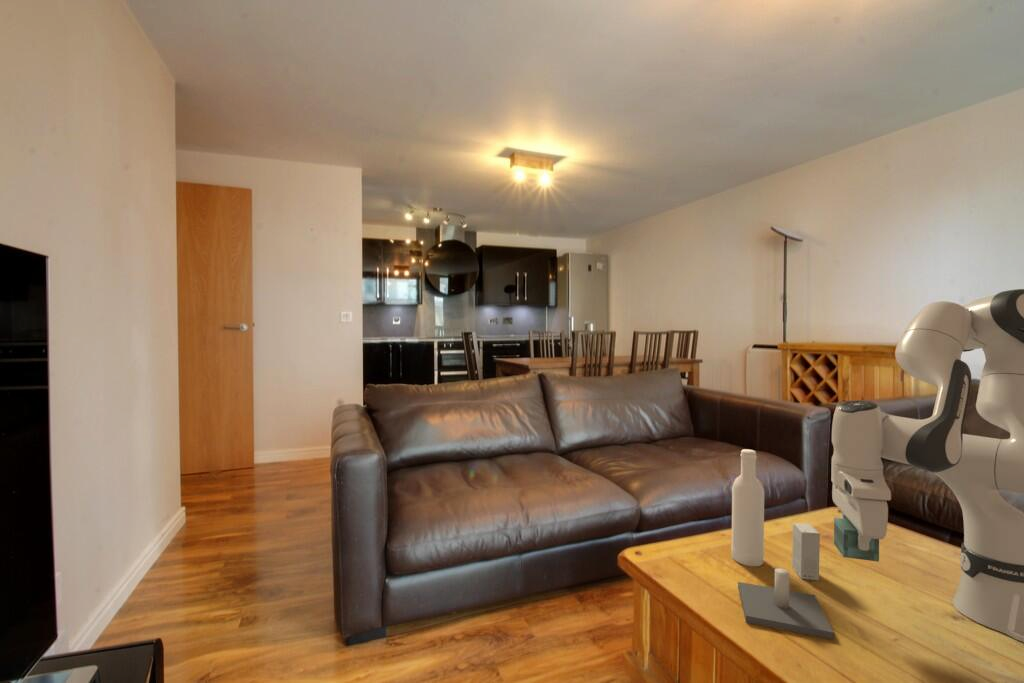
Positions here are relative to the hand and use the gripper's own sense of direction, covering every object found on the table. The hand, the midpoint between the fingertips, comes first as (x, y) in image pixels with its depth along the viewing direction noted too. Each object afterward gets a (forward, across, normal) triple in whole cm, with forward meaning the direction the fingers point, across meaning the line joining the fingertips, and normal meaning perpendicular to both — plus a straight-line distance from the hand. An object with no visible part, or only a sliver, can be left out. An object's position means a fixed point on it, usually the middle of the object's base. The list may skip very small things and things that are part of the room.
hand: (855, 540), depth 99 cm
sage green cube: (+3, 0, 0) cm, 3 cm away
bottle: (+18, -21, -18) cm, 33 cm away
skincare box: (+18, -18, -5) cm, 26 cm away
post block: (+17, +2, -14) cm, 23 cm away
